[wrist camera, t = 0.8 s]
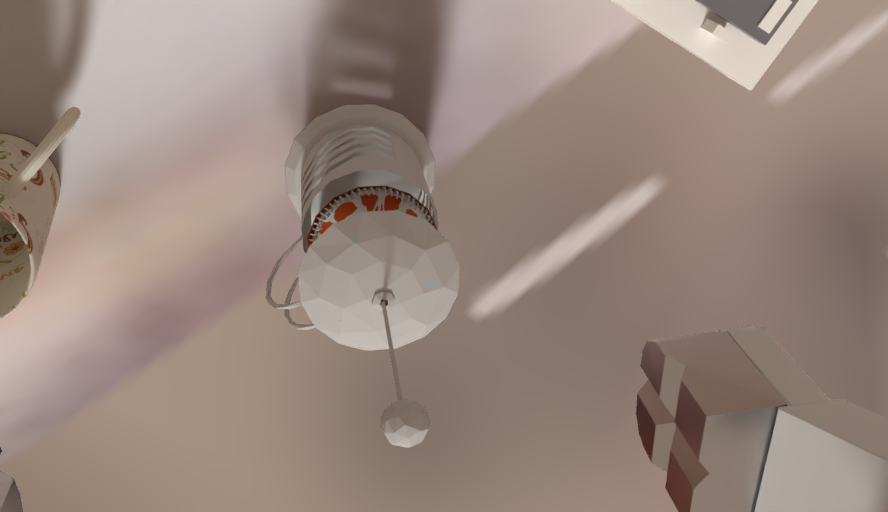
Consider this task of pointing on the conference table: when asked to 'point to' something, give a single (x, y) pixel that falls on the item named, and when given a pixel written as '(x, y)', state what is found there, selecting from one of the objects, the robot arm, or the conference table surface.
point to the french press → (370, 241)
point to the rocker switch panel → (716, 35)
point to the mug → (27, 208)
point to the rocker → (752, 15)
